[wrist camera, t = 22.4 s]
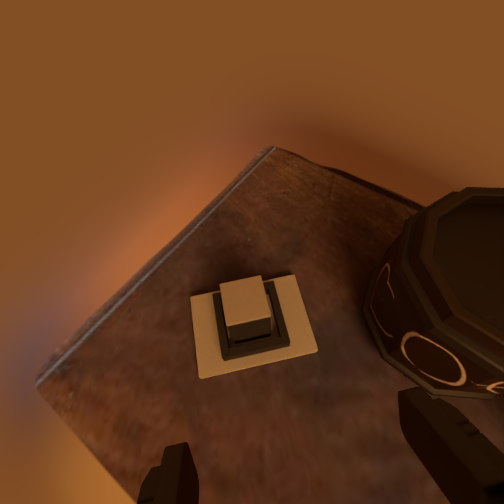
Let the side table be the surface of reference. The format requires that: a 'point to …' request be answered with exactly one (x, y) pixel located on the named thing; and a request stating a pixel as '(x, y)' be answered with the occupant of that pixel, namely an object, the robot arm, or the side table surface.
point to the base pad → (255, 351)
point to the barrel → (445, 296)
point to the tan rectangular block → (246, 309)
